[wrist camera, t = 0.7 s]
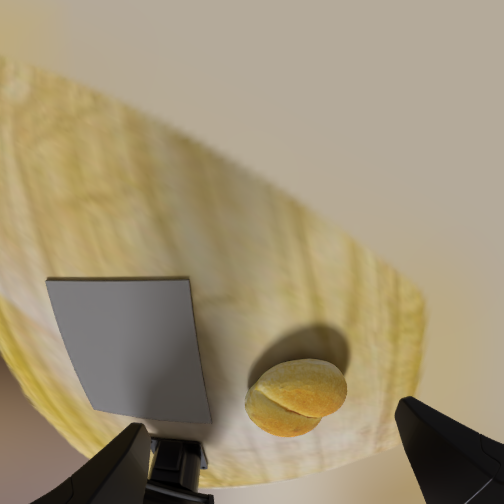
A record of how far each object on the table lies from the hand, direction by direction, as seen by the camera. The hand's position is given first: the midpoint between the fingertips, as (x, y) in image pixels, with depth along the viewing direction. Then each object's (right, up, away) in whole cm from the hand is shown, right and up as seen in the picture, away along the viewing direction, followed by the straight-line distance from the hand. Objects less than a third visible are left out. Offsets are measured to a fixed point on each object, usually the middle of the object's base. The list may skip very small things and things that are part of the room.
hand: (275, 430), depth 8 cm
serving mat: (-12, -4, +15) cm, 19 cm away
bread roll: (+3, -3, +15) cm, 16 cm away
